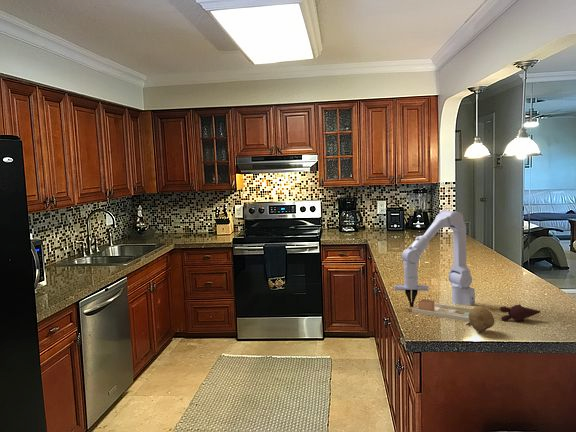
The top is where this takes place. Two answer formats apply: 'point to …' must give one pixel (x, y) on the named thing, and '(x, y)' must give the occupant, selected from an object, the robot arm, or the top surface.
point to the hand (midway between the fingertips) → (411, 306)
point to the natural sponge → (481, 318)
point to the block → (427, 305)
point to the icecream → (517, 313)
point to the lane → (447, 312)
